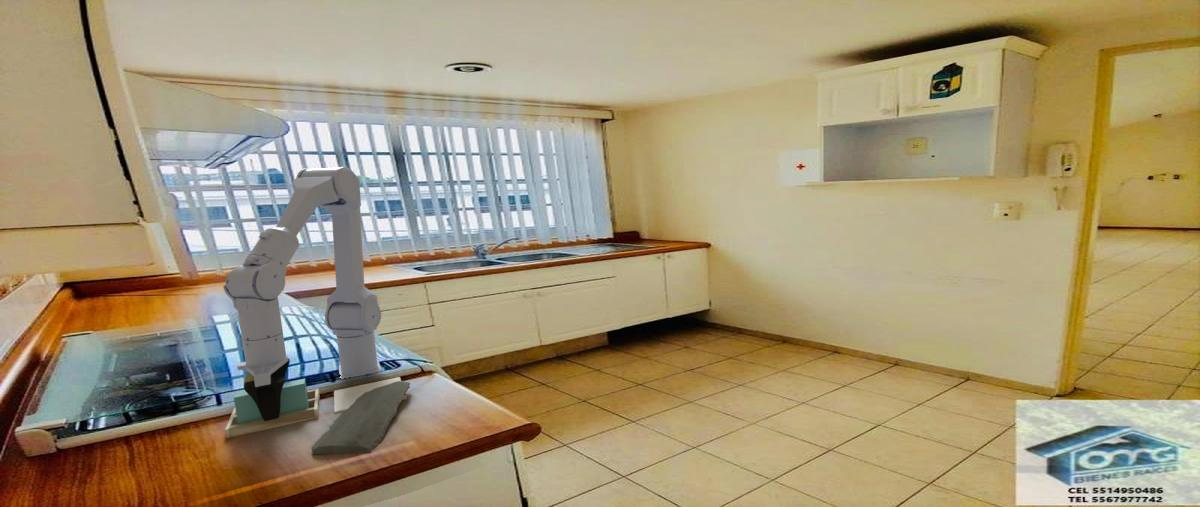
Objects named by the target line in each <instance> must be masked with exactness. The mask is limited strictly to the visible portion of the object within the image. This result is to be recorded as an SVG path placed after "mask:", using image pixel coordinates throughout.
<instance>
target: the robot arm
mask: <svg viewBox="0 0 1200 507" xmlns="http://www.w3.org/2000/svg"><path fill="white" fill-rule="evenodd" d="M360 181H361V180H360V178H359V177H358V176H357V175H356V174H355V172H354V171H353V170H352V169H351V168H350V167H348V166H340V167H329V168H327V167H326V168H325V167H324V168H302V169H301V170H300V171H298V173H297V175H296V177H295V179H293V181H292V186H293V191H294V192H293V193H292V195H291V197H290V199H289V201H288V203H287V205H286V207H285V209H284V210H283V213H282V214H281V217H280V218H279V221H278V222H277V224H276V226H275V227H270V228H267V229H265V230H264V231H261V233H260V234H259V235H258V240H257V242H256V243H255V245H254V246H253V248H252V249H251V251H250V253H249V254H248V255H247V257H246V258H245V260H244V262H243V263H242V265H237V267H234V268H233V269H232V270H230V272H228V274H227V276H226V279H225V284H224V285H223V286H222V287H223V291H224V293H225V294H226V296H228V297H229V298H230V300H232V305H233V308H234V309H235V310H236V311H237V315H238V322H239V329H240V336H241V341H242V348H243V353H244V355H243V356H244V361H242V362H241V361H240V362H239V363H238V364H237V366H236V367H237V370H238V371H243V370H246V372H247V371H248V372H249V373H250V374H252V375H253V376H254V381H250V382H245V384H244V383H243V391H244V390H245V391H246V392H247V393H248V394H249V395H250V396H251V397H252V399H253V400H254V401H255V403H256V405H257V407H258V409H259V412H260V414H261V416H262V418H263V420H264V421H269V420H273V419H278V418H279V415H280V405H281V391H282V388H283V385H284V383H285V382H286V380H287V376H286V373H287V370H288V367H289V365H290V363H291V359H290V358H289V357H288V354H287V352H286V344H285V338H284V331H283V323H282V318H281V311H280V310H281V309H280V302H279V296H280V295H281V294H282V292H283V291H284V290H285V287H286V275H287V267H288V265H289V263H290V262H291V260H292V258H293V257H294V255H295V253H296V252H297V250H298V248H299V247H300V242H299V238H298V234H299V233H300V232H301V230H302V229H303V227H304V226H305V225H306V223H307V222H308V221H309V220H310V218H311V217H312V215H313V214H314V213H315V211H316V210H317V208H318V207H320V208H321V209H324V210H325V211H326V212H327V213H329V214H330V215H331V220H332V222H331V223H332V237H333V254H334V271H335V286H336V287H335V288H336V289H335V290H334V291H333V292H332V293H331V294H330V295H329V296H328V297H327V298H326V304H327V305H326V310H325V313H324V322H325V325H326V327H327V328H328V329H329V330H331V331H332V334H333V336H334V335H335V336H336V341H337V342H336V343H337V348H338V357H339V364H338V372H339V373H338V375H339V374H340V375H341V376H340V377H339V376H338V378H341V379H340V380H344V378H346V379H350V378H349V377H351V378H355V376H356V377H361V376H366V375H370V374H374V373H380V372H381V371H382V368H381V365H380V362H379V358H378V356H377V347H376V338H375V331H376V330H377V329H378V326H379V325H380V322H381V320H382V312H381V311H382V310H381V309H380V308H381V307H380V306H379V302H378V295H377V294H376V293H374V292H373V291H371V290H370V289H368V288H367V287H366V286H365V275H364V274H365V273H364V272H365V271H364V256H363V253H364V252H363V237H362V221H361V220H362V219H361V207H362V201H361V200H362V199H361V185H360V184H361V182H360Z"/></svg>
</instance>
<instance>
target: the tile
mask: <svg viewBox="0 0 1200 507" xmlns="http://www.w3.org/2000/svg"><path fill="white" fill-rule="evenodd" d="M397 381H401V382H402V380H401V377H400V376H398V377H397V376H396V377H392V378H388V379H384V380H379V381H375V382H374V381H373V382H370V383H366V384H365V383H364V384H360V385H355V386H350V387H346V388H341V389H337V390H333V396H334V397H333V403H334V406H333V407H334V410H333V412H334V414H338V413H344V412H345V411H346V410H348V409H349V407H350V406H351V405H352V404H353V403H354V402H355V401H356V399H357V398H358V397H360V396H361V395H363V394H364V393H365V392H369V391H371V390H372V389H375V388H377V387H381V386H385V385H388V384H391V383H394V382H397ZM404 400H407V392H406V393H405V395H404V398H403V400H402V401H404Z"/></svg>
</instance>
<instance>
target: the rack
mask: <svg viewBox="0 0 1200 507" xmlns="http://www.w3.org/2000/svg"><path fill="white" fill-rule="evenodd" d="M307 396H308V403H309V408H308V409H304V410H299V411H295V412H290V413H286V414H281V415H279V418H278V419H273V420H269V421H264V420H263V419H259V420H255V421H250V422H246V423H241V424H238V421H237V415H236V409H235V407H234V408H233V410H232V413H231V415H230V417H229V420H228V422H227V424H226V427H225V428H224V432H225V438H226V440H227V439H230V438H234V437H235V438H236V437H240V436H243V435H248V434H252V433H256V432H261V431H265V430H269V429H274V428H279V427H283V426H287V425H291V424H295V423H299V422H303V421H304V422H305V421H308V420H312V419H317V418H319V414H320V397H321V396H320V389H319V388H315V389H309V390H307Z"/></svg>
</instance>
